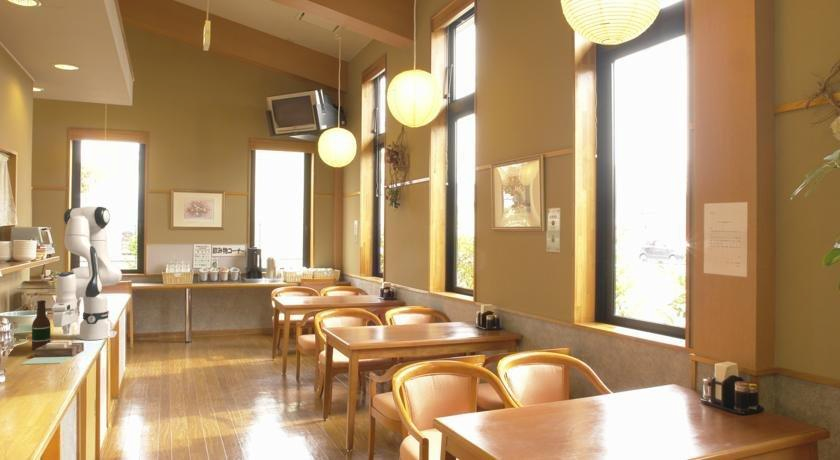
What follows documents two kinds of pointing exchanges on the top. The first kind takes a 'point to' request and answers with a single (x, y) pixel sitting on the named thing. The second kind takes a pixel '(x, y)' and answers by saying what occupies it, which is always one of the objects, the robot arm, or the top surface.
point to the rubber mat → (46, 360)
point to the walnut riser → (59, 351)
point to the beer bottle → (40, 327)
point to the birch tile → (59, 344)
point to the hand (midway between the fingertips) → (66, 333)
